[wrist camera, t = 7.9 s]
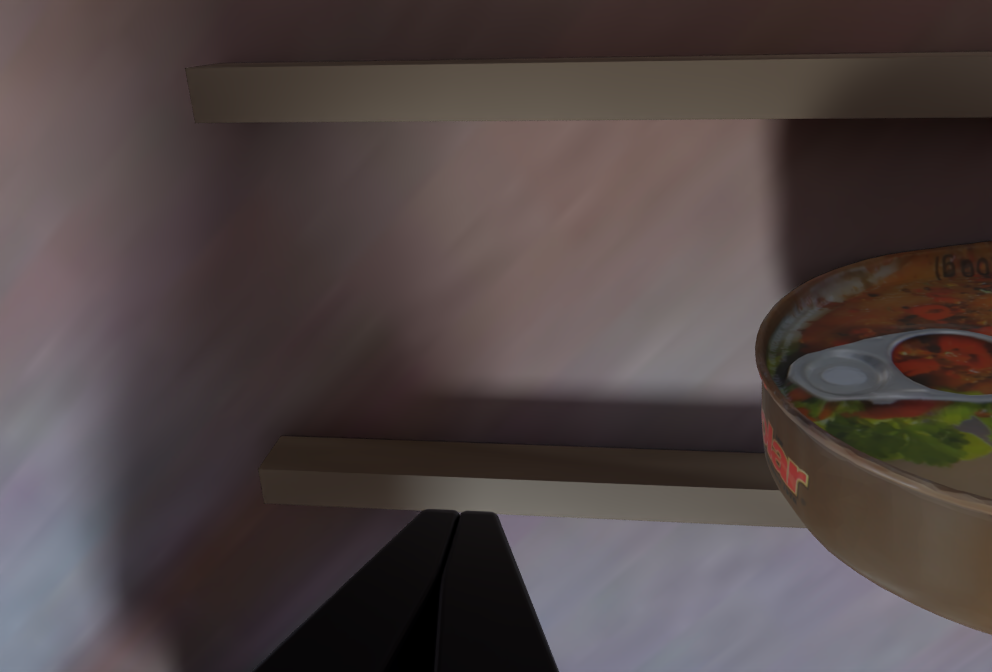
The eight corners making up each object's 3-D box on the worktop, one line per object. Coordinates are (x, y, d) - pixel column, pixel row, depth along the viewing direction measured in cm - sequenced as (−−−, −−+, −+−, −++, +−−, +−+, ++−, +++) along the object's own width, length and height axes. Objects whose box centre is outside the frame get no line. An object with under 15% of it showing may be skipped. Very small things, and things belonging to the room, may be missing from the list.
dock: (1434, 514, 16) (1606, 614, 14) (286, 468, 19) (238, 544, 16) (1730, 40, 12) (2058, 46, 10) (220, 62, 15) (141, 73, 12)
